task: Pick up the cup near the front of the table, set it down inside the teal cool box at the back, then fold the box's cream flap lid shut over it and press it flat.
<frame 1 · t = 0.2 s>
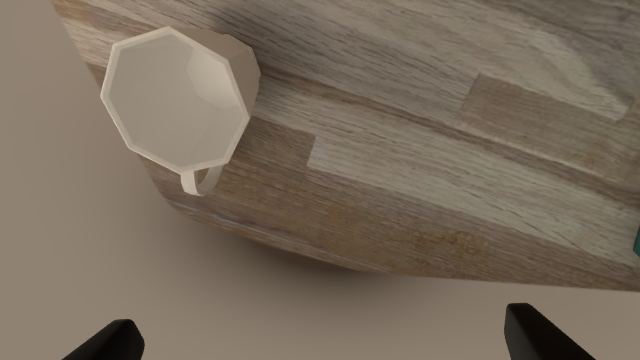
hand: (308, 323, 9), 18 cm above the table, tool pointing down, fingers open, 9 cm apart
cup: (228, 91, 25), on the table
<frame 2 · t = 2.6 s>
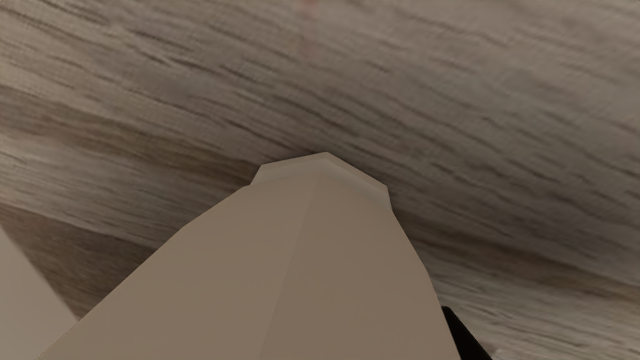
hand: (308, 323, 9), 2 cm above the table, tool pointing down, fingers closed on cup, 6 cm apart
cup: (311, 262, 11), on the table, touching gripper
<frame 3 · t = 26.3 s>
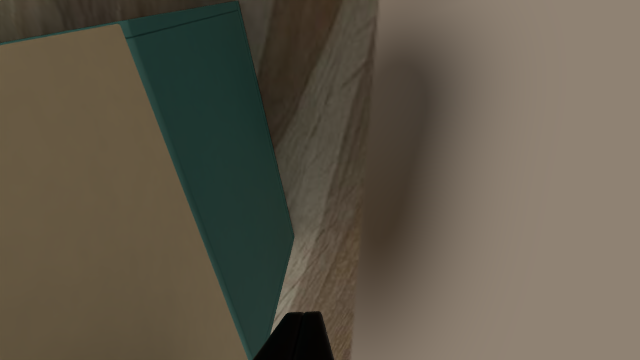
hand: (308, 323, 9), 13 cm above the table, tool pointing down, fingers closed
cooler: (141, 153, 22), on the table
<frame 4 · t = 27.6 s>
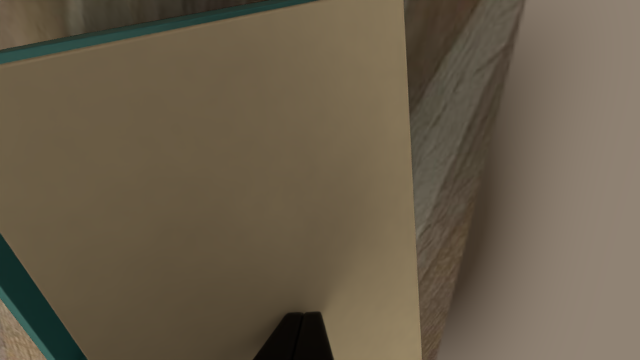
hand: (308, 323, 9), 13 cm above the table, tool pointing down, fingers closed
flap: (295, 319, 9), point 12 cm above the table, hinge at 36.9°, touching gripper
cooler: (246, 144, 21), on the table
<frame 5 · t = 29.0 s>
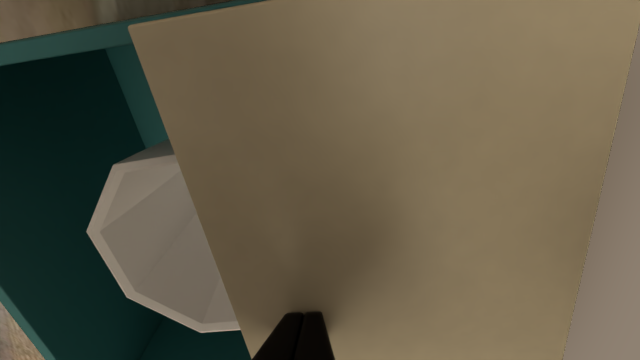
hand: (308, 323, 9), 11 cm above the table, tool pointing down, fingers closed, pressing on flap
cup: (293, 151, 18), resting on cooler
flap: (399, 307, 9), point 10 cm above the table, hinge at 3.2°, touching gripper
cooler: (297, 149, 18), on the table
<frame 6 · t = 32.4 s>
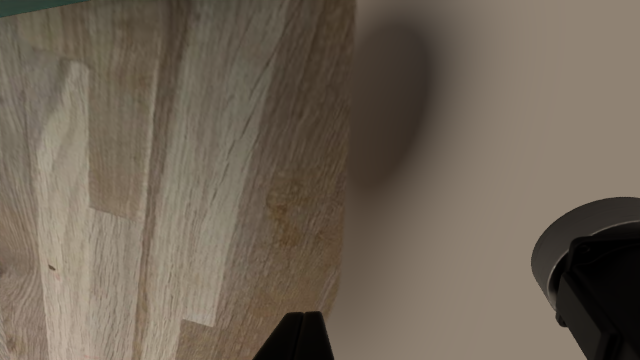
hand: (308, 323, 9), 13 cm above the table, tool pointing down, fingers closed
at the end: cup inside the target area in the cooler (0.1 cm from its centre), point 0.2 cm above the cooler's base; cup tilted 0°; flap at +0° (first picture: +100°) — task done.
